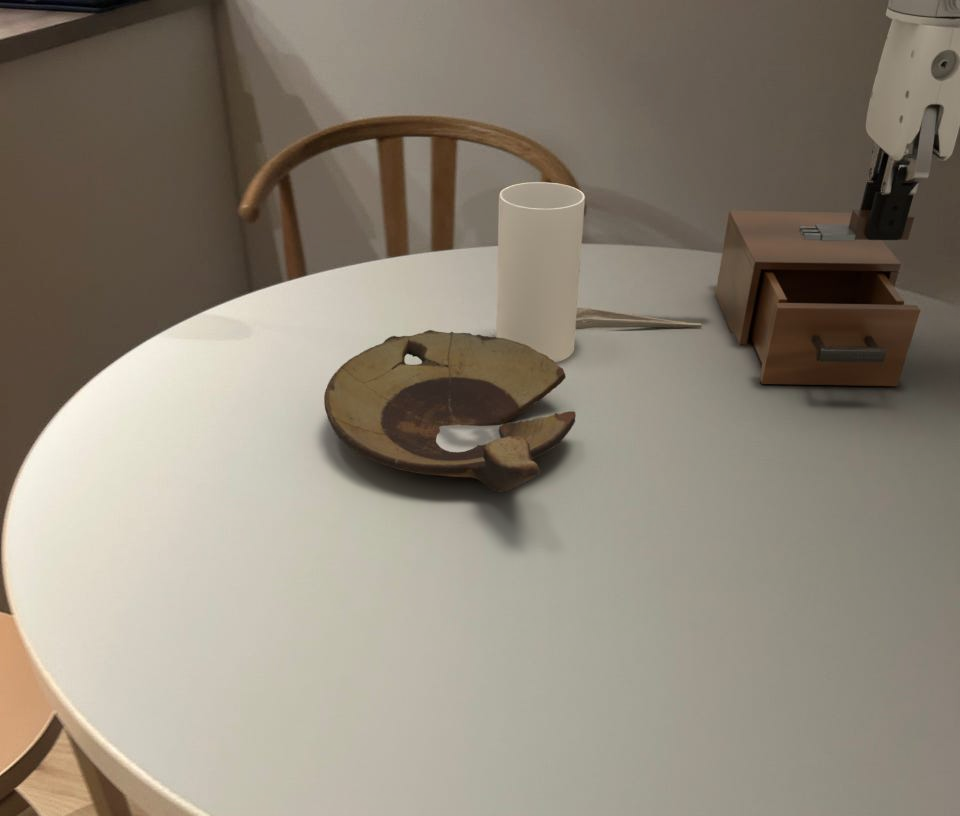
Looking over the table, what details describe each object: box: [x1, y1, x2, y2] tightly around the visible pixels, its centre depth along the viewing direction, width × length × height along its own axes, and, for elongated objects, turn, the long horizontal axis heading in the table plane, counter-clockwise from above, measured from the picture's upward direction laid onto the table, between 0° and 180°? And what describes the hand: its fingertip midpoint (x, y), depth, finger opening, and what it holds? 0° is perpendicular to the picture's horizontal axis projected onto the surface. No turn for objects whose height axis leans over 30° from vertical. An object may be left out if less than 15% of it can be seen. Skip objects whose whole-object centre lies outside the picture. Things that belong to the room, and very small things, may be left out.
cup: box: [495, 181, 586, 363], centre depth 100 cm, size 8×8×16 cm
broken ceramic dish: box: [323, 329, 577, 493], centre depth 87 cm, size 22×30×8 cm
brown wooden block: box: [799, 209, 915, 241], centre depth 90 cm, size 10×3×2 cm, turn 89°
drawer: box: [749, 269, 921, 387], centre depth 99 cm, size 19×13×8 cm
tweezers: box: [575, 306, 703, 330], centre depth 110 cm, size 17×5×2 cm, turn 90°
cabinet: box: [715, 210, 902, 347], centre depth 108 cm, size 16×15×10 cm
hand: (878, 232), depth 91 cm, fingers closed on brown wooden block, 2 cm apart
